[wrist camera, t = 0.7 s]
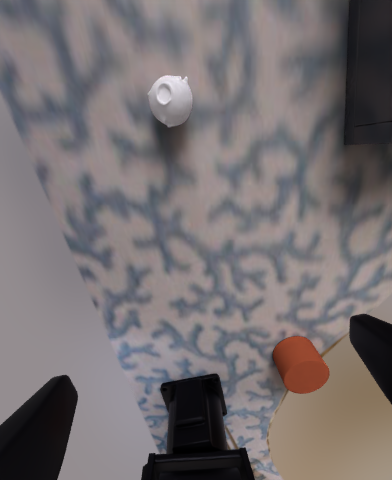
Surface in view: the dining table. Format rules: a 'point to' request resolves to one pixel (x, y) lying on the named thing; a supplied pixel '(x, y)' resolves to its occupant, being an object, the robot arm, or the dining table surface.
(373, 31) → the dark grey open box
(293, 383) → the stopper
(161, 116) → the white bumpy ball
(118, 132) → the dining table surface
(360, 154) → the dining table surface
